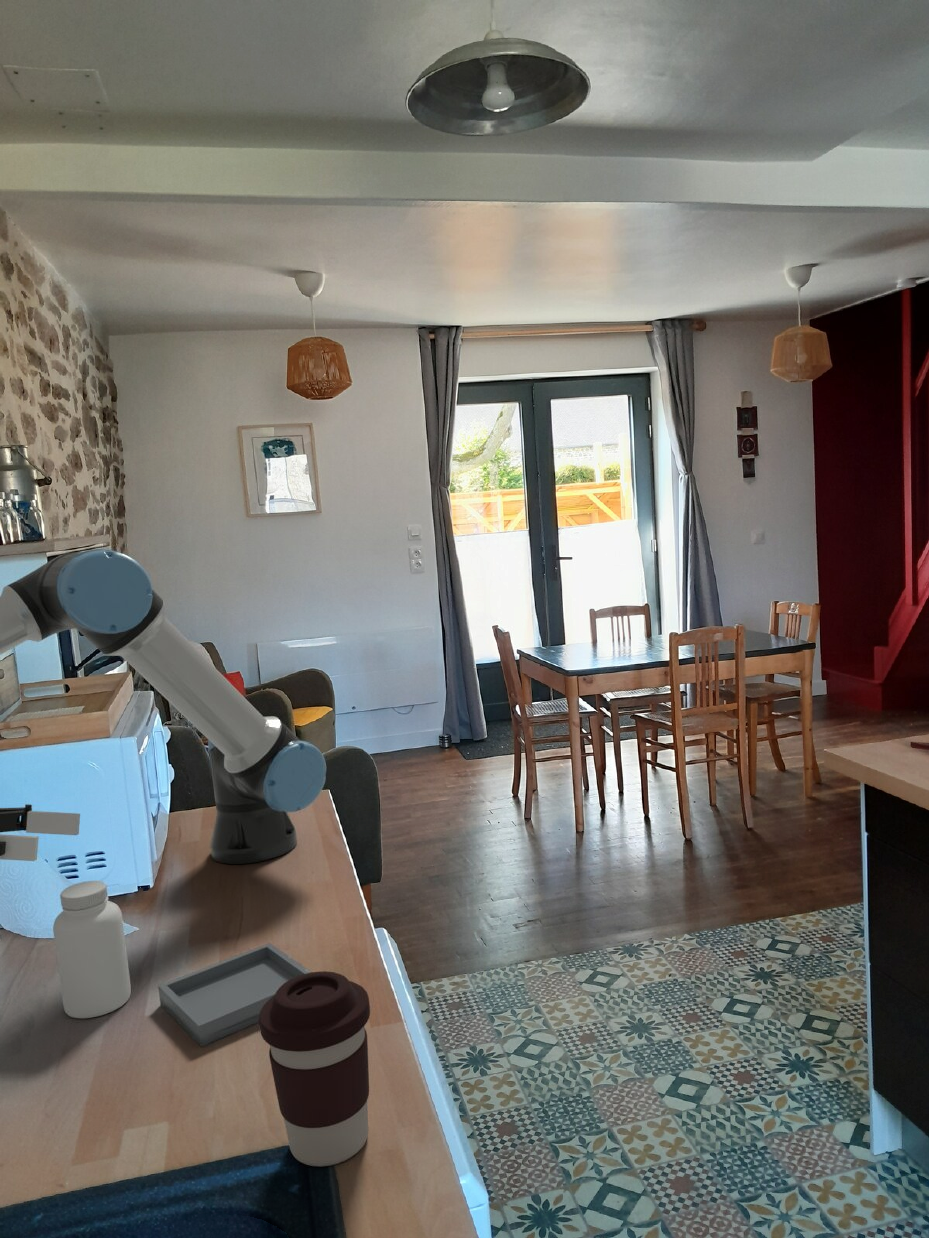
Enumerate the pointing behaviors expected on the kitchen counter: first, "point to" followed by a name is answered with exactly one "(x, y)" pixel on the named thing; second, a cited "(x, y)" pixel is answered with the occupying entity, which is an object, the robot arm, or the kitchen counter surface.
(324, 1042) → the coffee cup
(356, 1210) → the kitchen counter surface
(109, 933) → the pill bottle
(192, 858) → the kitchen counter surface
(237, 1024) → the tray
